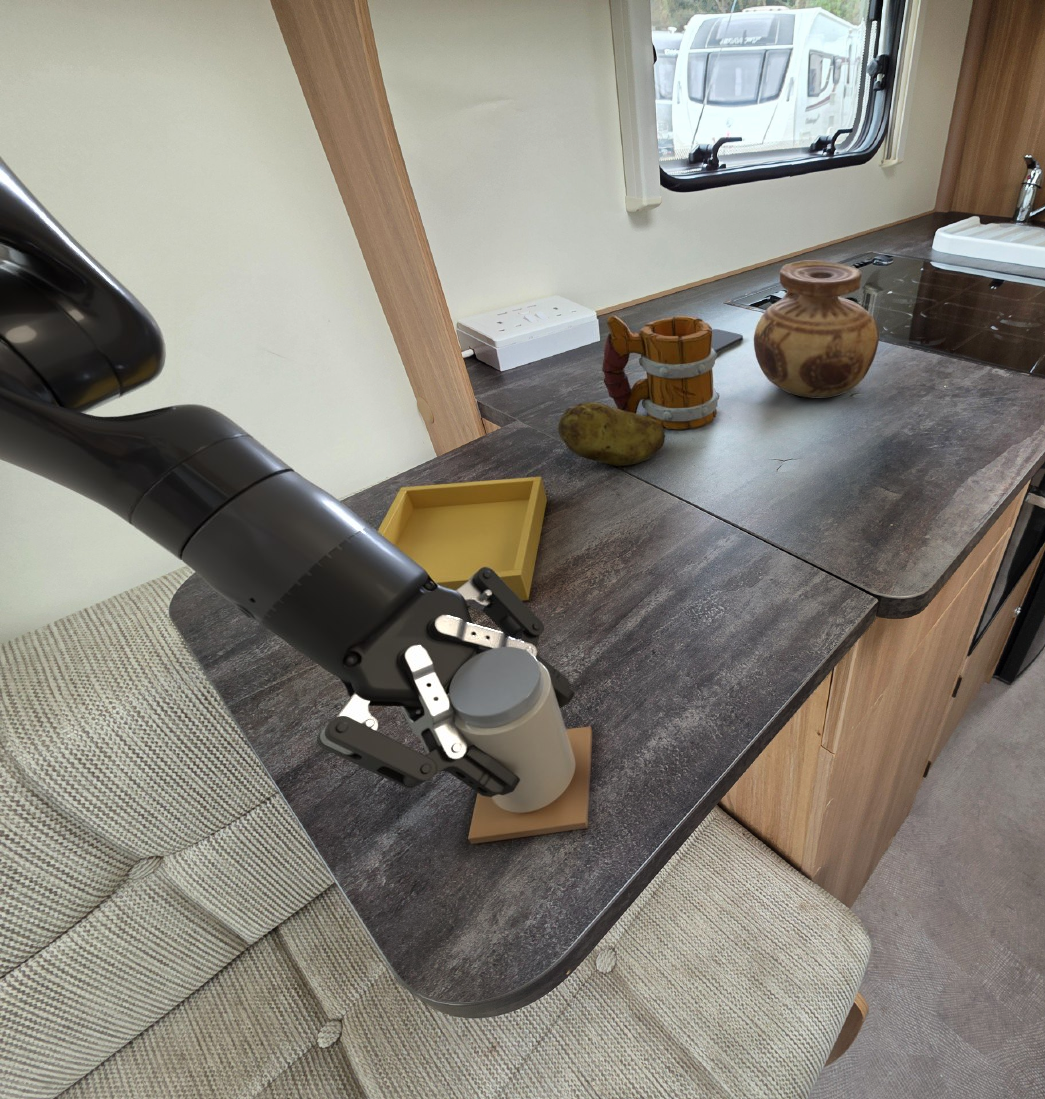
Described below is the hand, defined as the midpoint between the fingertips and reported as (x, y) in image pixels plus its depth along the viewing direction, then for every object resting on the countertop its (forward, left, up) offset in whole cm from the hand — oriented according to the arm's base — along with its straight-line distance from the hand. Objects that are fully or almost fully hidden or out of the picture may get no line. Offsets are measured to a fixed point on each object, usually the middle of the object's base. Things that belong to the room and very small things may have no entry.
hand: (540, 741), depth 39 cm
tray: (+29, +12, -6) cm, 32 cm away
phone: (+85, -20, -6) cm, 88 cm away
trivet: (+1, +2, -6) cm, 6 cm away
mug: (+58, -11, -6) cm, 59 cm away
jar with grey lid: (+1, +2, -4) cm, 5 cm away
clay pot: (+65, -35, -6) cm, 74 cm away
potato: (+46, -4, -6) cm, 47 cm away
